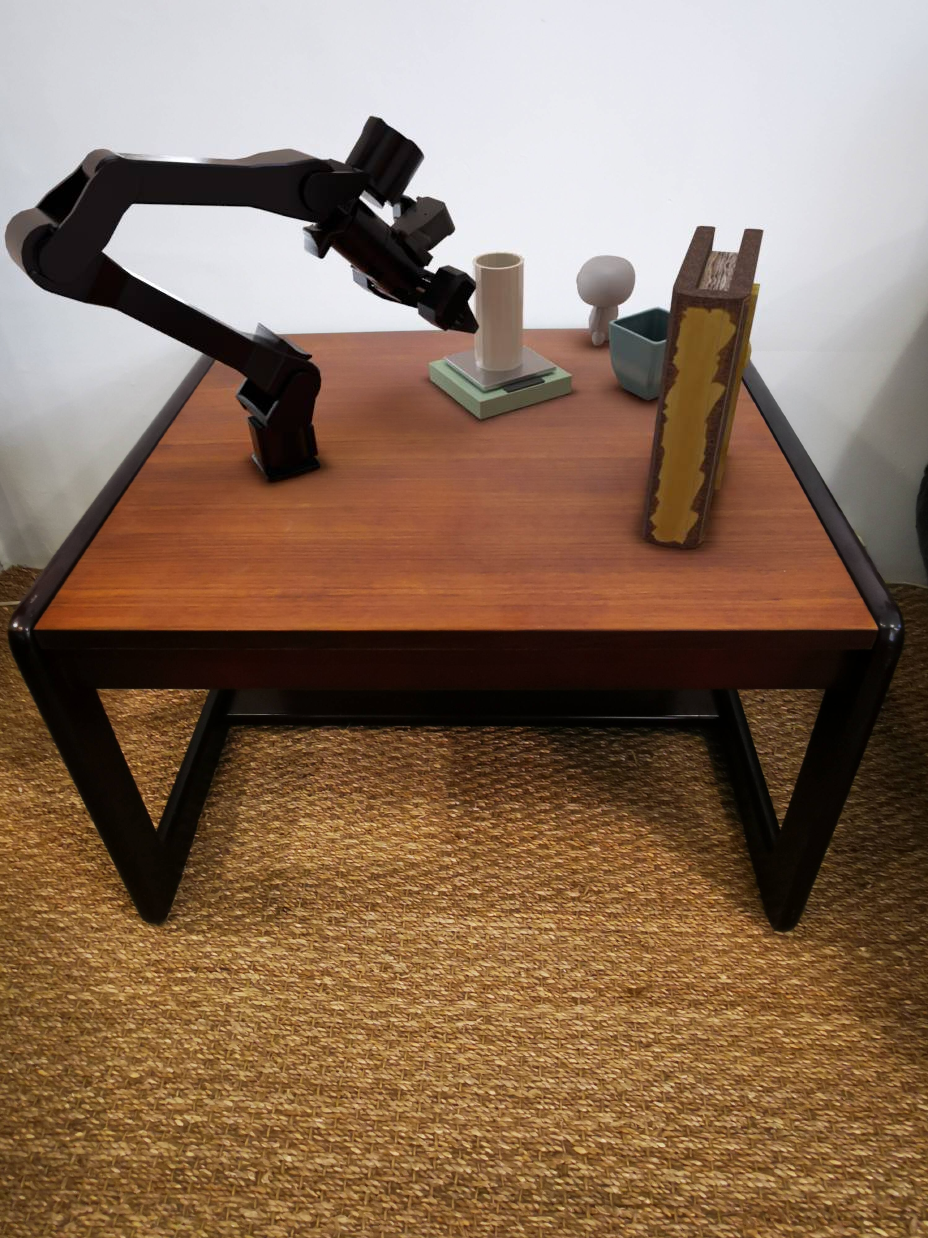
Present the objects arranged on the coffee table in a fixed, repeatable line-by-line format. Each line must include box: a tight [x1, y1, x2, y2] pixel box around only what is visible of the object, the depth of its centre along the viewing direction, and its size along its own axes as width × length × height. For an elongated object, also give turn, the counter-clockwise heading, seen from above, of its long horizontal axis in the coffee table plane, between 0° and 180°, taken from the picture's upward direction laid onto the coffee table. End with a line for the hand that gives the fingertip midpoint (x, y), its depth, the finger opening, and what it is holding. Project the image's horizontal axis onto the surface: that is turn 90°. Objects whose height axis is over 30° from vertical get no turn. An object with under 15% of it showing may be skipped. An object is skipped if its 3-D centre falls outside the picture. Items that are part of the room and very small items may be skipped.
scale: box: [428, 344, 573, 421], centre depth 111 cm, size 14×14×3 cm
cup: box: [471, 251, 525, 371], centre depth 106 cm, size 6×6×13 cm
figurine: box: [575, 254, 636, 347], centre depth 118 cm, size 8×8×12 cm
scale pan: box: [443, 345, 557, 391], centre depth 110 cm, size 11×11×1 cm
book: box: [640, 225, 764, 550], centre depth 83 cm, size 22×8×25 cm, turn 162°
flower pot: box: [608, 306, 670, 401], centre depth 107 cm, size 9×9×9 cm
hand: (454, 318), depth 102 cm, fingers open, 9 cm apart
